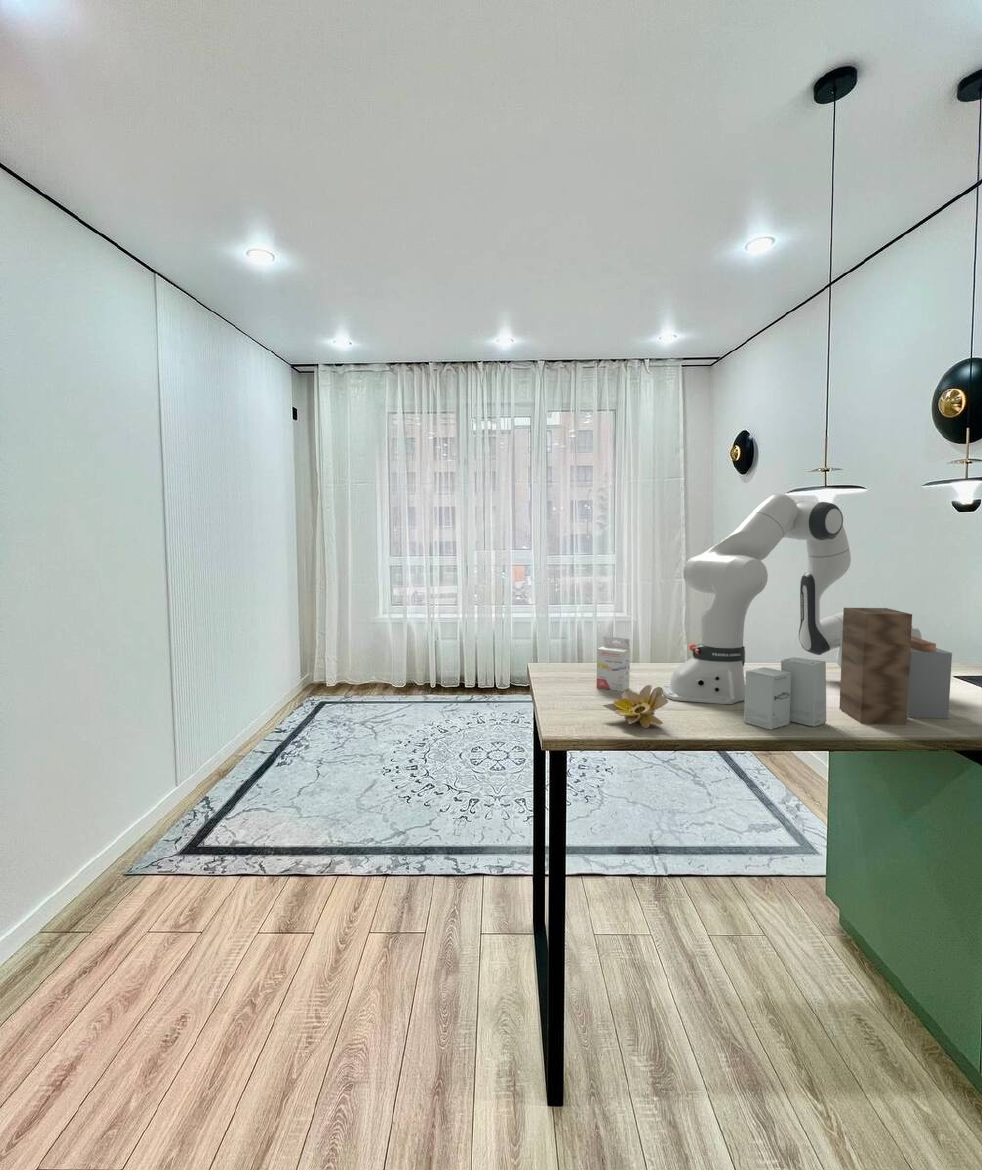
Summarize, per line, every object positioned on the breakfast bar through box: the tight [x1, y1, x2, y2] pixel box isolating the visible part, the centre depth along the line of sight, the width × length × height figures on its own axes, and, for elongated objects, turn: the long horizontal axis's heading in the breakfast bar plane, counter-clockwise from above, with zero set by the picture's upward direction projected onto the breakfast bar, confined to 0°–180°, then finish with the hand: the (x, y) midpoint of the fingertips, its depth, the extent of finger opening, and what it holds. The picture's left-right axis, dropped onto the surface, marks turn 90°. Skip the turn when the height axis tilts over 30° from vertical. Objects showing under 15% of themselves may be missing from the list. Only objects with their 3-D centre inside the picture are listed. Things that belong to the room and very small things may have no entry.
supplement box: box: [743, 667, 791, 731], centre depth 146 cm, size 7×7×13 cm
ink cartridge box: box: [596, 635, 631, 692], centre depth 181 cm, size 9×5×15 cm, turn 58°
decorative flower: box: [601, 684, 669, 729], centre depth 149 cm, size 15×11×10 cm
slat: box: [910, 636, 937, 652], centre depth 160 cm, size 3×20×2 cm, turn 172°
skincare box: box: [780, 656, 827, 728], centre depth 148 cm, size 8×6×15 cm
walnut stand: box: [838, 607, 913, 726], centre depth 151 cm, size 10×12×26 cm
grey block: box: [907, 647, 953, 719], centre depth 158 cm, size 9×16×16 cm, turn 172°
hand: (890, 627), depth 169 cm, fingers open, 8 cm apart
